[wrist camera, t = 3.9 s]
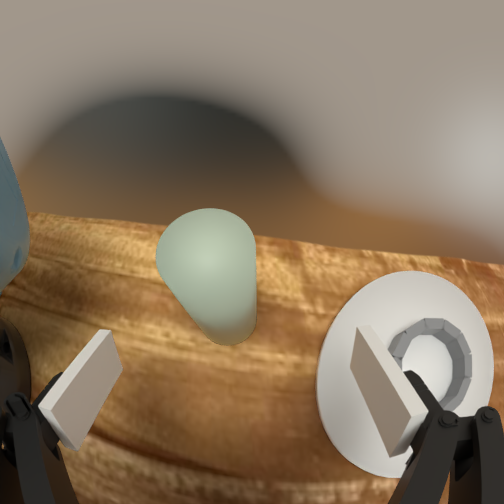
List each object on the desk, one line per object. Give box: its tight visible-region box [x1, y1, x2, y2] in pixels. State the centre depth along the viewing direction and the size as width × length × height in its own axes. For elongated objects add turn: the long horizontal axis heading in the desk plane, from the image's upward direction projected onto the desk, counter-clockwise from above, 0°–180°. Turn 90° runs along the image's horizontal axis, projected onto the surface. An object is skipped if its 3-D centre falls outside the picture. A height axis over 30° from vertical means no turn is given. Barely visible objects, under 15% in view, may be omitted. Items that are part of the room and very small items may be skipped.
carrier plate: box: [315, 271, 494, 478], centre depth 19 cm, size 20×20×3 cm
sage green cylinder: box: [156, 208, 257, 346], centre depth 19 cm, size 5×5×12 cm
